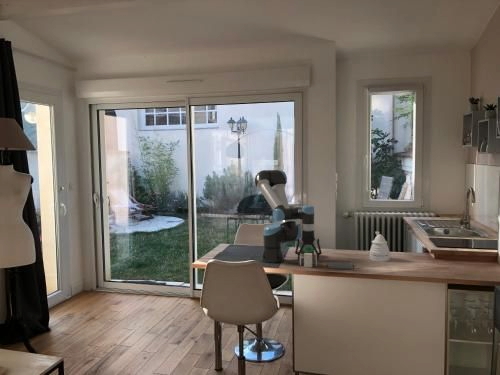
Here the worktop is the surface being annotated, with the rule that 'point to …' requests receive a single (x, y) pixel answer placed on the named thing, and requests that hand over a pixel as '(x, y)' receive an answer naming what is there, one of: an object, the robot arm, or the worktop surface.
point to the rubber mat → (340, 265)
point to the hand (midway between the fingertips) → (308, 265)
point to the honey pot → (379, 249)
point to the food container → (307, 249)
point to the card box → (307, 259)
